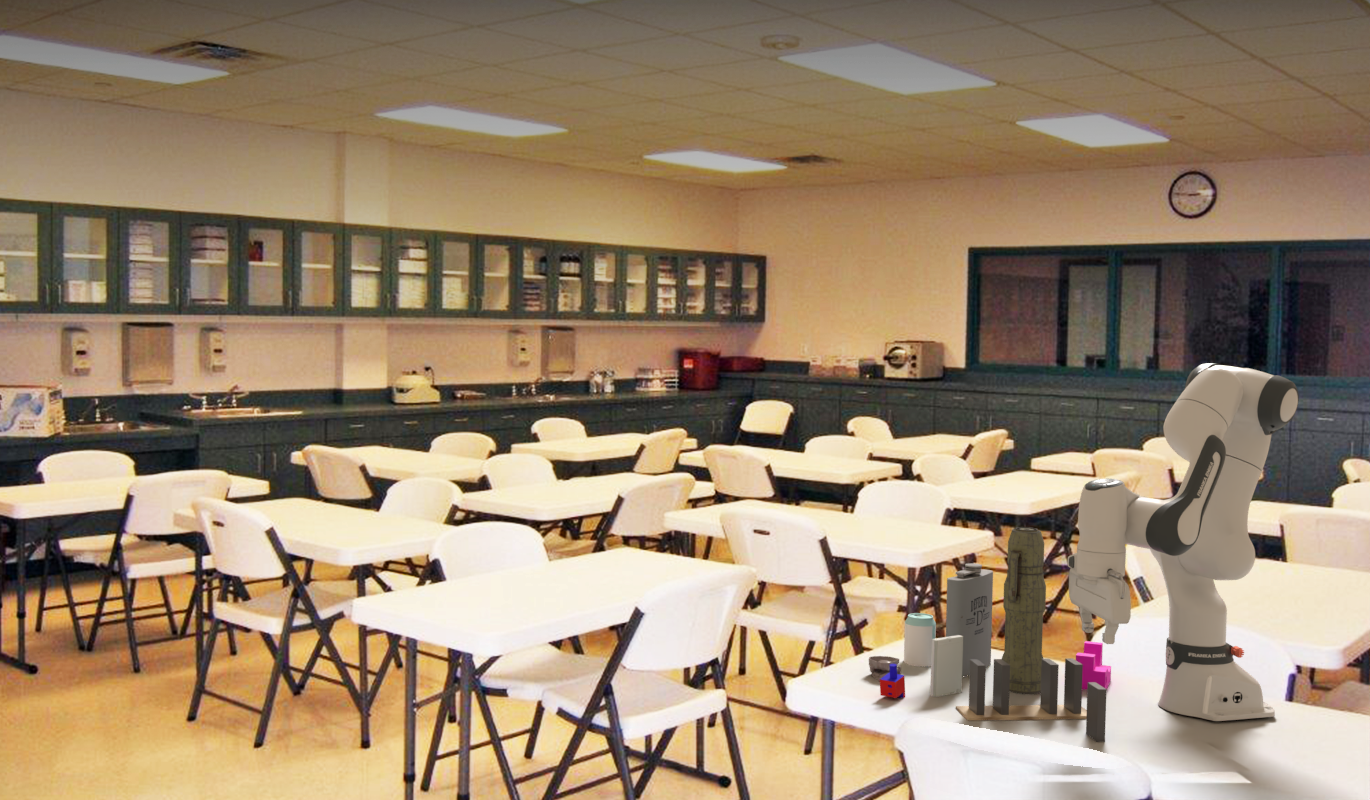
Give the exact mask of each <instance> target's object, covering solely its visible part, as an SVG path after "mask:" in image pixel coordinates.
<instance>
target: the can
mask: <svg viewBox="0 0 1370 800" xmlns="http://www.w3.org/2000/svg"><path fill="white" fill-rule="evenodd" d="M936 627H937V623H936V621H935V619H934V615H932V614H929V613H922V612H921V613H919V612H914V613H909V614H908V615H907V618H906V620H904V636H903V637H904V639H903V640H904V643H903V645H904V648H903V662H904V664H907V665H909V666H915V667H920V666H922V667H923V666H924V668H926V667H925V666H928V667H931V654H932V639H936V638H937V637H936V634H937V632H936V631H937V628H936Z"/></svg>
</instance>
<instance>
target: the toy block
mask: <svg viewBox="0 0 1370 800" xmlns="http://www.w3.org/2000/svg"><path fill="white" fill-rule="evenodd" d="M1103 643H1104V642H1095V641H1089V640H1088V641H1087V640H1086V641H1084V642H1083V644H1084V645H1083V652H1077V653H1076V654H1075V660H1076V661H1078V662H1079V663H1081V664H1083V671H1082V690H1085V691H1087V684H1088V682H1096V683H1098V684H1099V685H1101V686H1102V687H1104V688H1105V689H1108V687H1109V685H1110V683H1111V680H1112V666H1111V665H1105V664H1103V645H1104V644H1103Z"/></svg>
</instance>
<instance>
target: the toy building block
mask: <svg viewBox="0 0 1370 800" xmlns="http://www.w3.org/2000/svg"><path fill="white" fill-rule="evenodd" d="M889 667H890V673H888V674H886V675H885V676H884V677H882V678H881V679H880V682H879V687H880V688H879V692H880V696H883V697H887V698H894V699H897V698H900V699H901V698H902V699H904V698H906V685H905V684H906V683H905V682H906V681H905V675H904V674H901V675H899V674H897V668H898V665H896V664H890V665H889Z"/></svg>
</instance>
